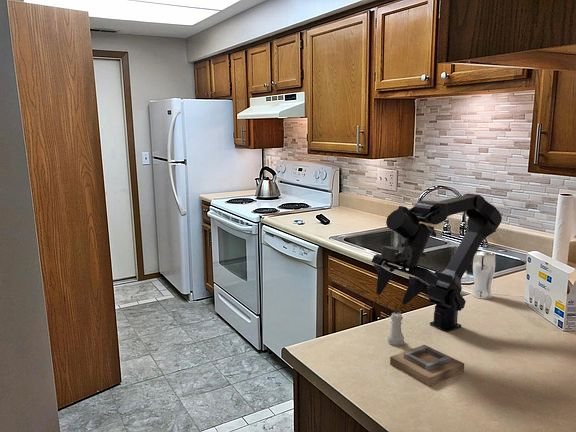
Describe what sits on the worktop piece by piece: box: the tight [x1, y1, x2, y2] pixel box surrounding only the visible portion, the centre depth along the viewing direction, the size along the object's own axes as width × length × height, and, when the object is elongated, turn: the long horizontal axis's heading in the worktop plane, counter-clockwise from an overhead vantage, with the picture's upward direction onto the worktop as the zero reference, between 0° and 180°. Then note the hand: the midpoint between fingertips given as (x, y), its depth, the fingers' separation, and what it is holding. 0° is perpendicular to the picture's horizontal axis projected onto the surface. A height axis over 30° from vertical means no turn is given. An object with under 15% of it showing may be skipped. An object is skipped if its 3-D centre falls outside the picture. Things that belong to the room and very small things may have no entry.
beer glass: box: [472, 250, 496, 300], centre depth 160 cm, size 7×7×15 cm
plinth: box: [389, 344, 465, 387], centre depth 112 cm, size 12×12×3 cm
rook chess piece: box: [387, 312, 405, 347], centre depth 125 cm, size 4×4×8 cm
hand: (390, 299), depth 123 cm, fingers open, 9 cm apart
